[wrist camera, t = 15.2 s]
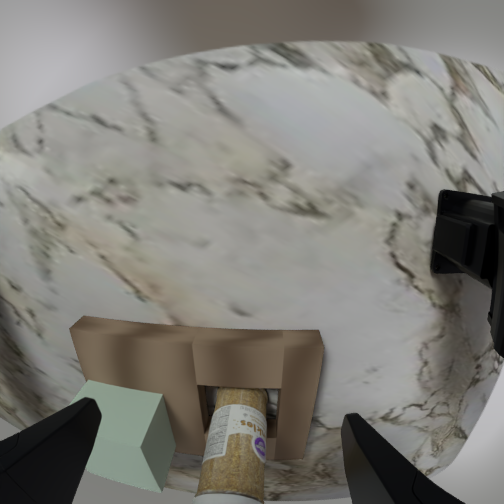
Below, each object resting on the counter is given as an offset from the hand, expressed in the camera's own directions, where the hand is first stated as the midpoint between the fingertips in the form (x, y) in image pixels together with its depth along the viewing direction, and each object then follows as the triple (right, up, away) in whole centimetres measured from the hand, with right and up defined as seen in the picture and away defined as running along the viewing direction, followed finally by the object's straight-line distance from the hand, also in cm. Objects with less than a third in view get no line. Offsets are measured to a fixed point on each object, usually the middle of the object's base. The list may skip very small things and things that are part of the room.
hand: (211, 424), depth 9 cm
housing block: (-10, -9, +14) cm, 19 cm away
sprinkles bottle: (+1, -7, +15) cm, 17 cm away
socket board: (-4, -7, +15) cm, 17 cm away
